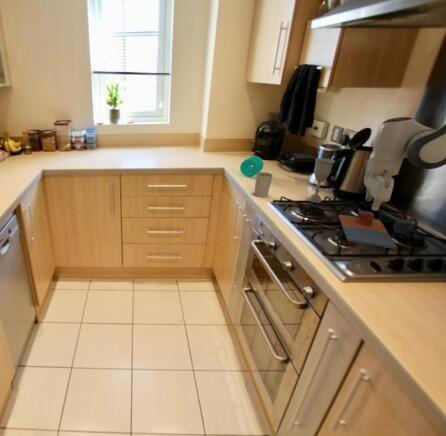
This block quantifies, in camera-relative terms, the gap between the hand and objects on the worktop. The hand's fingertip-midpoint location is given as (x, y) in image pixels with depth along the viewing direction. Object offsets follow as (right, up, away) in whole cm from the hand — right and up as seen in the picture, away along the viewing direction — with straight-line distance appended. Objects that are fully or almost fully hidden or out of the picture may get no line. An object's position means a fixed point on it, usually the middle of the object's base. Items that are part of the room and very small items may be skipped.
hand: (371, 205), depth 113 cm
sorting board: (-3, -9, -1) cm, 10 cm away
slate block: (+9, -9, -1) cm, 13 cm away
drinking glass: (-24, +6, +34) cm, 42 cm away
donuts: (-17, +19, +63) cm, 68 cm away
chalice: (-4, +3, +27) cm, 27 cm away
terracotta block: (0, -6, +3) cm, 7 cm away
